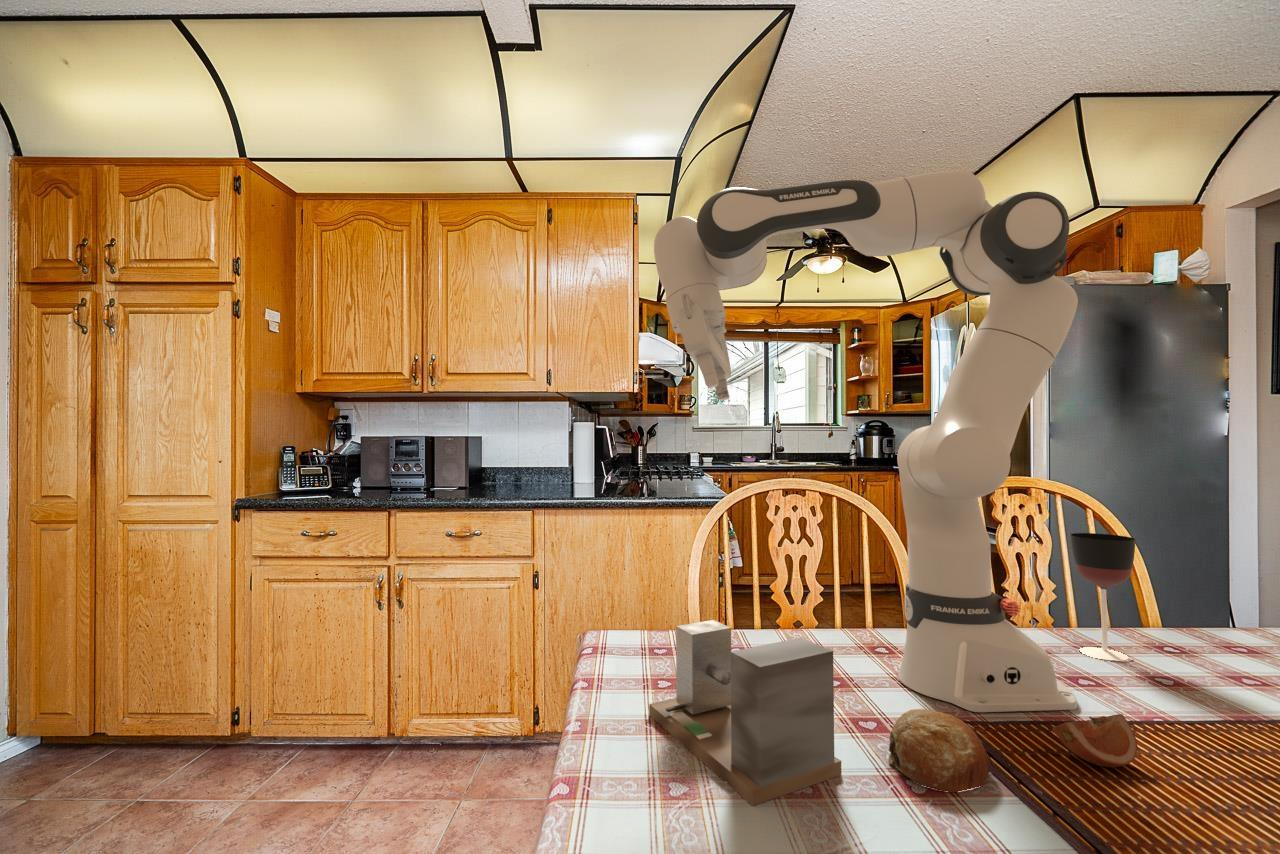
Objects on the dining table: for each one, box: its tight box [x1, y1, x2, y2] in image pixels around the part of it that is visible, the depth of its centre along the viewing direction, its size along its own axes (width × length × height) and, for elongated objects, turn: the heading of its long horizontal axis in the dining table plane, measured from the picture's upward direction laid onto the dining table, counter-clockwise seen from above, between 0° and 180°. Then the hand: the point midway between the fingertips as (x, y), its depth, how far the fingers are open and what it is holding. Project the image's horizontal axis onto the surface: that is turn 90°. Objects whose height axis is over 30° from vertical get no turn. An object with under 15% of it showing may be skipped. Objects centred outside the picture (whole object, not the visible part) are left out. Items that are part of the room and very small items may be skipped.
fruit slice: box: [1052, 713, 1139, 768], centre depth 67 cm, size 8×7×5 cm
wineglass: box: [1070, 532, 1136, 660], centre depth 101 cm, size 8×9×20 cm
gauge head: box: [666, 619, 732, 715], centre depth 76 cm, size 7×9×10 cm
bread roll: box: [887, 708, 991, 792], centre depth 66 cm, size 10×10×8 cm
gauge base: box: [648, 637, 842, 807], centre depth 71 cm, size 22×12×14 cm, turn 27°
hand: (718, 393), depth 92 cm, fingers open, 8 cm apart
